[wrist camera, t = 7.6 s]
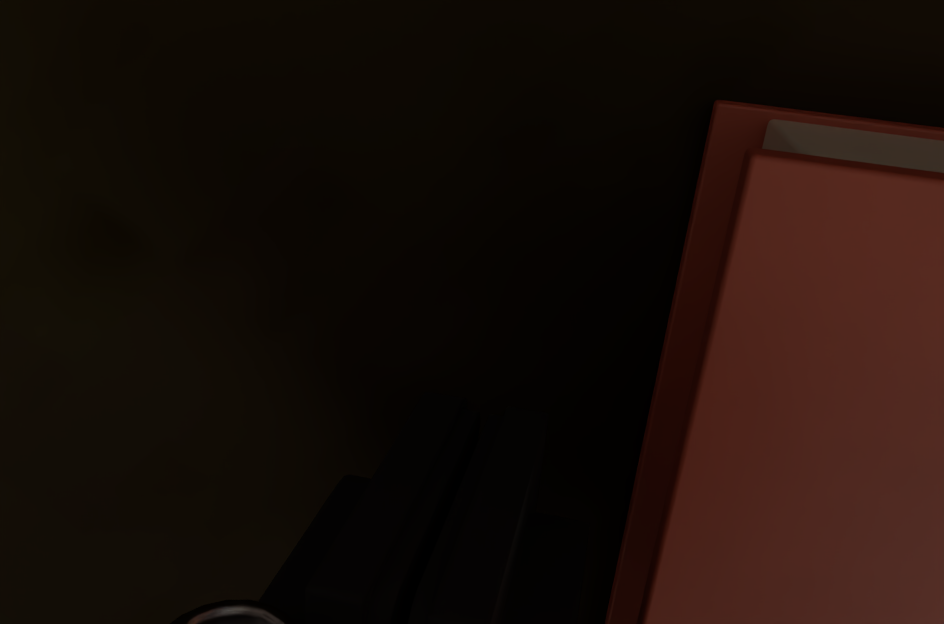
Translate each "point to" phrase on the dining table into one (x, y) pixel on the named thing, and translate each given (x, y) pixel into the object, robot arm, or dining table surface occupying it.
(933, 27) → the dining table surface
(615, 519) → the dining table surface
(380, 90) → the dining table surface
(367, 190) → the dining table surface
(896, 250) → the book
